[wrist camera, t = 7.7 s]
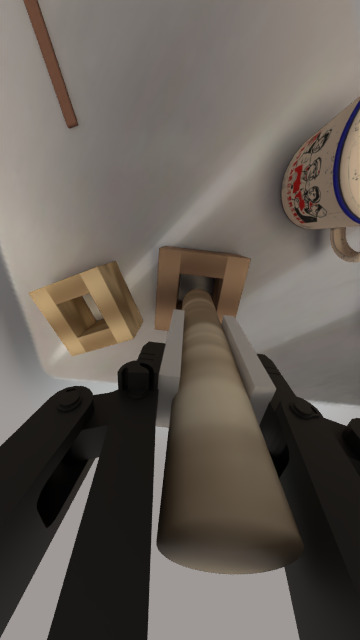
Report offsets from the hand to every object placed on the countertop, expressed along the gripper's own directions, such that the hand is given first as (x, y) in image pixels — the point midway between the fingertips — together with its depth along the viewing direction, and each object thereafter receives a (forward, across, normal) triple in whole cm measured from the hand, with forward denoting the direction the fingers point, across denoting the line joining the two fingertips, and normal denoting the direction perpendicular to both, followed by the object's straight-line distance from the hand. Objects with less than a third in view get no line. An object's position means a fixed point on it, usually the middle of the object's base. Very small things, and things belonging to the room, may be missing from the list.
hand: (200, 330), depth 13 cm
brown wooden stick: (+12, -17, +22) cm, 30 cm away
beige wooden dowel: (+6, 0, 0) cm, 6 cm away
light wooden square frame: (+13, -13, -4) cm, 18 cm away
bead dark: (+12, 0, 0) cm, 12 cm away
